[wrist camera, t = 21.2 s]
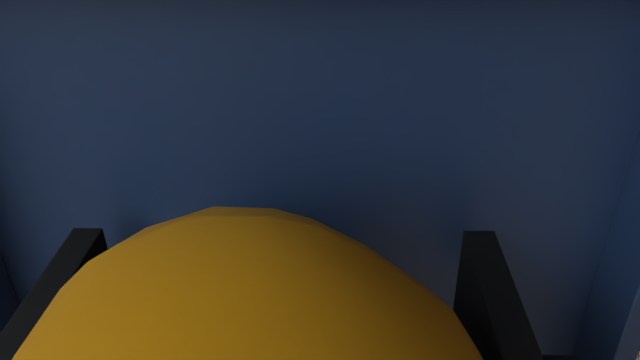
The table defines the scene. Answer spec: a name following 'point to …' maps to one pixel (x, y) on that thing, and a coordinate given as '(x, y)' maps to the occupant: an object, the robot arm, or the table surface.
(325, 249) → the apple
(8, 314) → the fruit tray
